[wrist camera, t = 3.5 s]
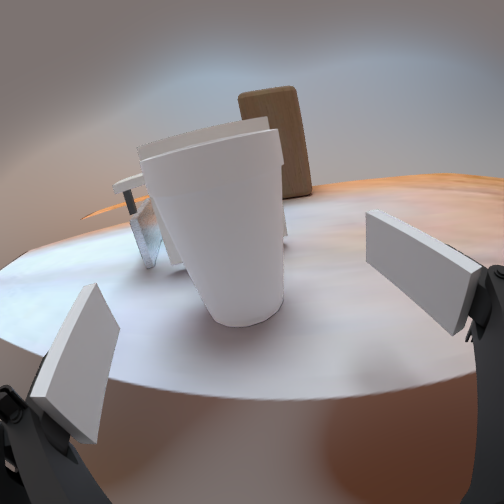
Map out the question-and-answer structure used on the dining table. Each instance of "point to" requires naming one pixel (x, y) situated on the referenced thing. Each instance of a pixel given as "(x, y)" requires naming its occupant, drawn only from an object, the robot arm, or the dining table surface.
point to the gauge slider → (177, 143)
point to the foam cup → (226, 221)
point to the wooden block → (283, 133)
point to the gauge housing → (146, 232)
